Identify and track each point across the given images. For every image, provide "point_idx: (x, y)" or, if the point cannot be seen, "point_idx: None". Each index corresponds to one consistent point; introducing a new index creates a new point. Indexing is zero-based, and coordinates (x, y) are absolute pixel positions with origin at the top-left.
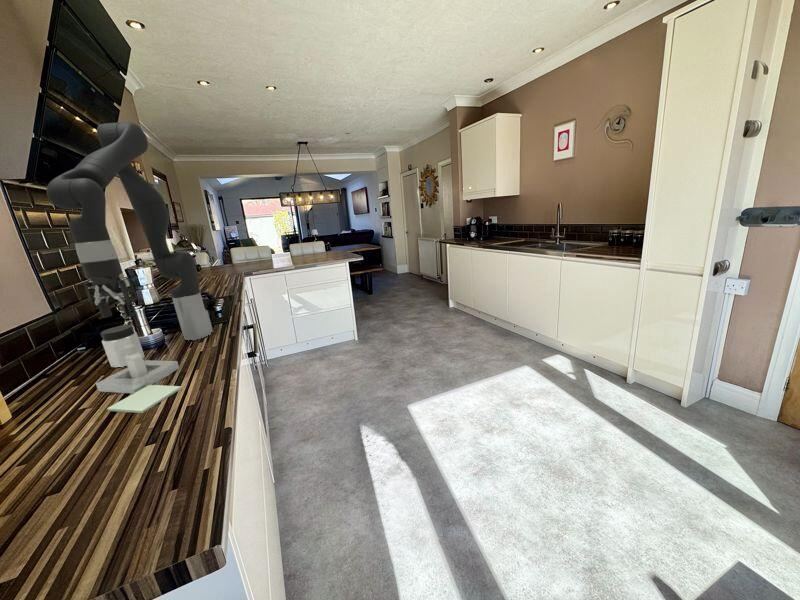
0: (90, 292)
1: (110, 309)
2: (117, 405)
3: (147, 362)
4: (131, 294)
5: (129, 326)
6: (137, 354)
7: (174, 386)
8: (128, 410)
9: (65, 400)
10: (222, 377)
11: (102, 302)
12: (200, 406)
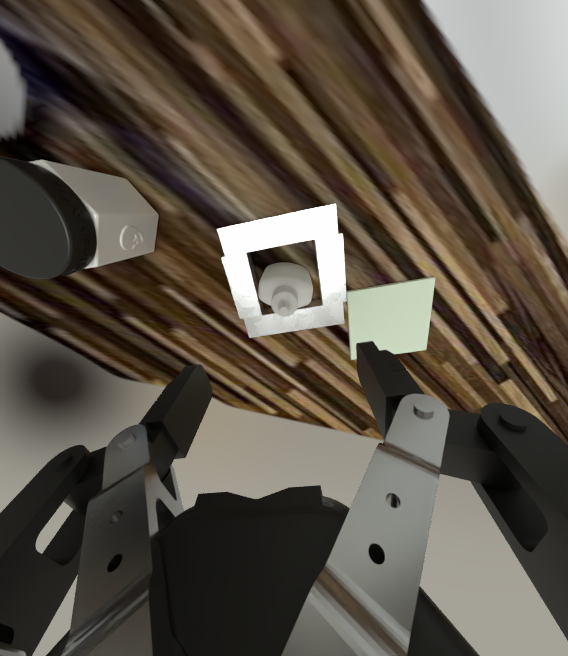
0: (53, 603)
1: (185, 387)
2: None
3: (246, 237)
4: (516, 474)
5: (14, 177)
6: (303, 292)
7: (418, 281)
8: (396, 353)
9: (229, 359)
10: (510, 208)
11: (164, 459)
12: (526, 309)
